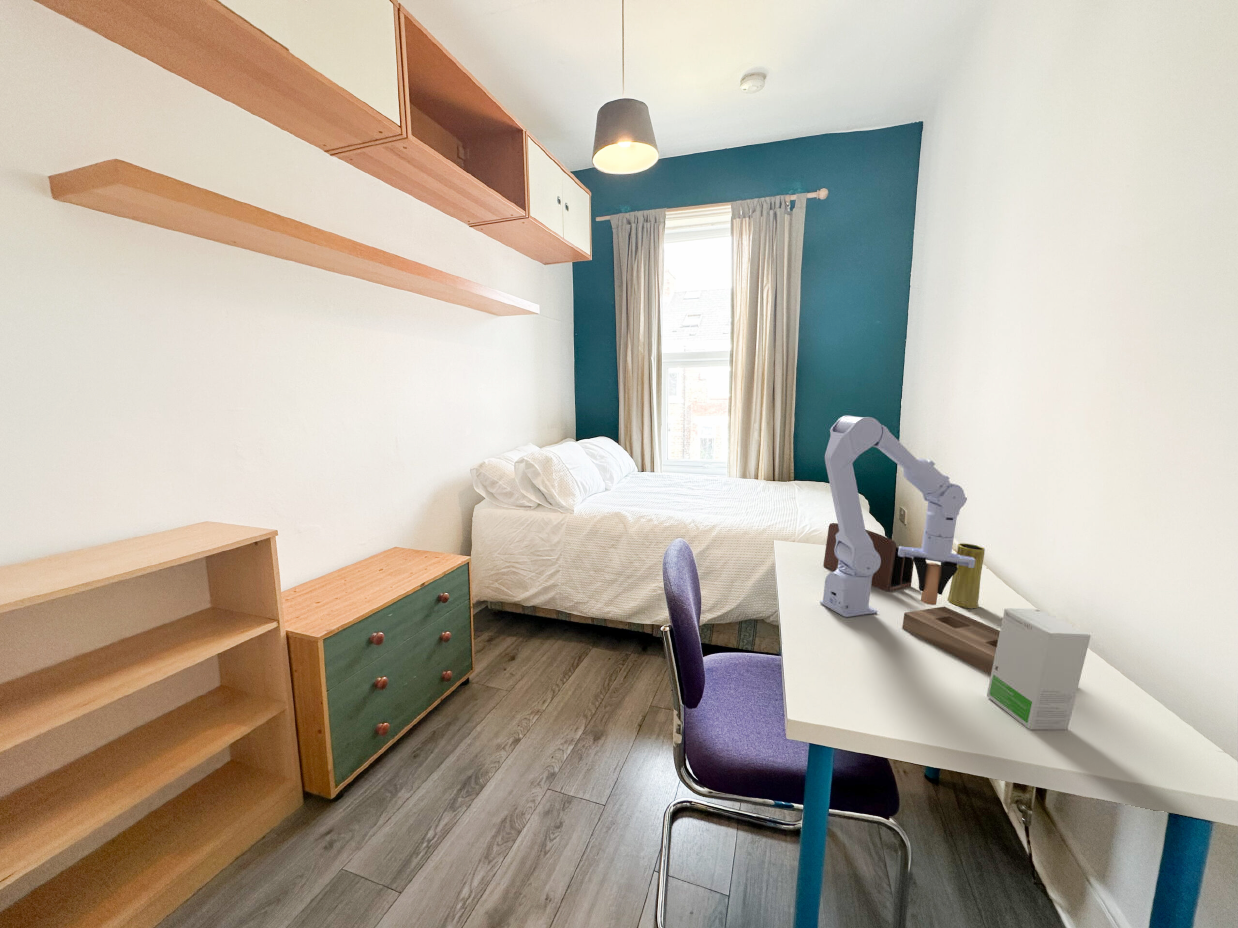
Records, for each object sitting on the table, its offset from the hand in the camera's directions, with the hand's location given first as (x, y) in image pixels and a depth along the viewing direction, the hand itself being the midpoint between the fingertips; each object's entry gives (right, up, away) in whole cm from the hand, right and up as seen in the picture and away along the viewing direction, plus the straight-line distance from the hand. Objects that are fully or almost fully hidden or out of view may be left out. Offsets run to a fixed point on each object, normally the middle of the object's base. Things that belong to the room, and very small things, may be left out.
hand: (930, 591), depth 111 cm
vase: (+12, -5, +6) cm, 14 cm away
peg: (0, -3, 0) cm, 3 cm away
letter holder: (-4, -2, +22) cm, 22 cm away
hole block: (-2, -7, -17) cm, 18 cm away
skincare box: (-8, -10, -36) cm, 38 cm away
